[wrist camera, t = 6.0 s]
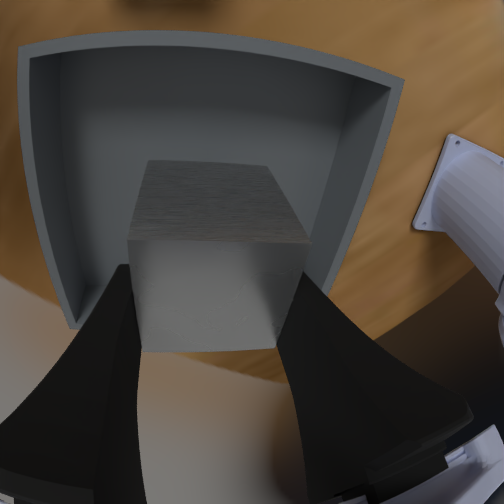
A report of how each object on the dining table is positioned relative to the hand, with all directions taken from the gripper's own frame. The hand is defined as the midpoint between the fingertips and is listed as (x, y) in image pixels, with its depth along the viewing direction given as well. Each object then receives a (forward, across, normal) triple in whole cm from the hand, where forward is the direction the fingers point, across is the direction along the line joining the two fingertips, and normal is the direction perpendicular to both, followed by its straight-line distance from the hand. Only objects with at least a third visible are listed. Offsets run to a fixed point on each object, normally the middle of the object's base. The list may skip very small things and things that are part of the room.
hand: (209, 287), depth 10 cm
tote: (+8, 0, 0) cm, 8 cm away
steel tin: (+3, 0, -1) cm, 4 cm away
